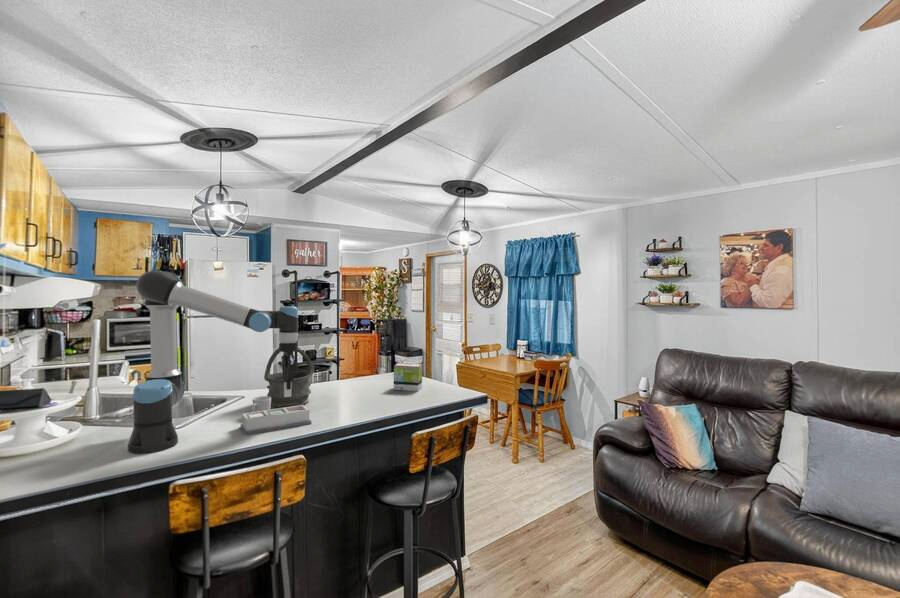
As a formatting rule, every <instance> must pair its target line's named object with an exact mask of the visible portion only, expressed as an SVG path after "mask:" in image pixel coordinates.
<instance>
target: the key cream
mask: <svg viewBox="0 0 900 598" xmlns="http://www.w3.org/2000/svg"><path fill="white" fill-rule="evenodd" d="M261 416H264V415H263V414H262V413H258V414H252V415H248V418H255V417H261Z"/></svg>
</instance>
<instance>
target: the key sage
mask: <svg viewBox="0 0 900 598" xmlns="http://www.w3.org/2000/svg"><path fill="white" fill-rule="evenodd" d="M281 413H284V412H283V411H282V410H279V411H272V412H269V415H274V414H281Z"/></svg>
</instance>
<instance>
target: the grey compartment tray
mask: <svg viewBox="0 0 900 598" xmlns="http://www.w3.org/2000/svg"><path fill="white" fill-rule="evenodd" d="M279 410H282V411H283V412H284V413H281V414H274V415H269V412H272V411H279ZM296 410H300V411H296ZM289 411H294V412H289ZM258 413H262V414H263V415H264V416H261V417H255V418H248V415H252V414H258ZM241 415H242V416H241V417H242V418H241V422H242V423H240V425H239V426H240V429H241V430H242V431H243V434H244V435H245V436H247V435H249V436H250V435H254V434H261V433H266V432H271V431H278V430H284V429H289V428H295V427H301V426H307V425H312V420H311V419H310V409H309V408H308V407H307V406H305V404H304V405H299V406H292V407H285V408H278V407H277V408H272V409H271V408H270V410H264V411H258V412H252V411H251V412H245V413H241Z"/></svg>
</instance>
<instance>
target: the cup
mask: <svg viewBox="0 0 900 598" xmlns="http://www.w3.org/2000/svg"><path fill="white" fill-rule="evenodd" d="M271 407H272V406H271V397H269V396H267V395H264V396H263V395H262V396H256V397H253V398H252V405H251V408H250V409H251V412H258V411H264V410H271Z"/></svg>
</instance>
